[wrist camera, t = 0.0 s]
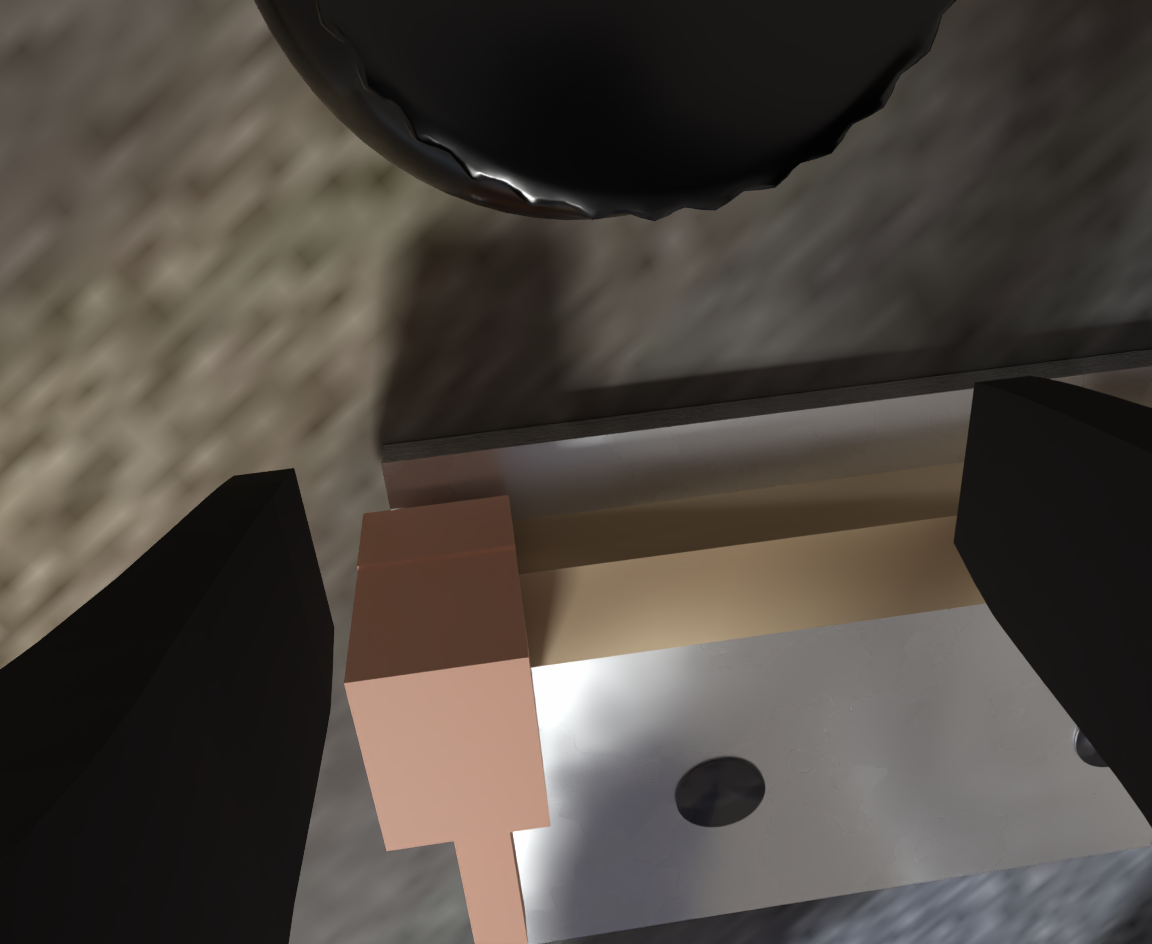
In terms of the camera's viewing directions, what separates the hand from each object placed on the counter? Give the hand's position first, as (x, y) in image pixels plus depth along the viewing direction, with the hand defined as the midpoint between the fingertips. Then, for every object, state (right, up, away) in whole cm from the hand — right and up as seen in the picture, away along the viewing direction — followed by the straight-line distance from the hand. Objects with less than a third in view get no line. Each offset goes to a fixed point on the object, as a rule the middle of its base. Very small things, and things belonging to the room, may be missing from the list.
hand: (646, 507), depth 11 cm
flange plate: (+6, -5, +15) cm, 17 cm away
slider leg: (-3, -5, +13) cm, 14 cm away
